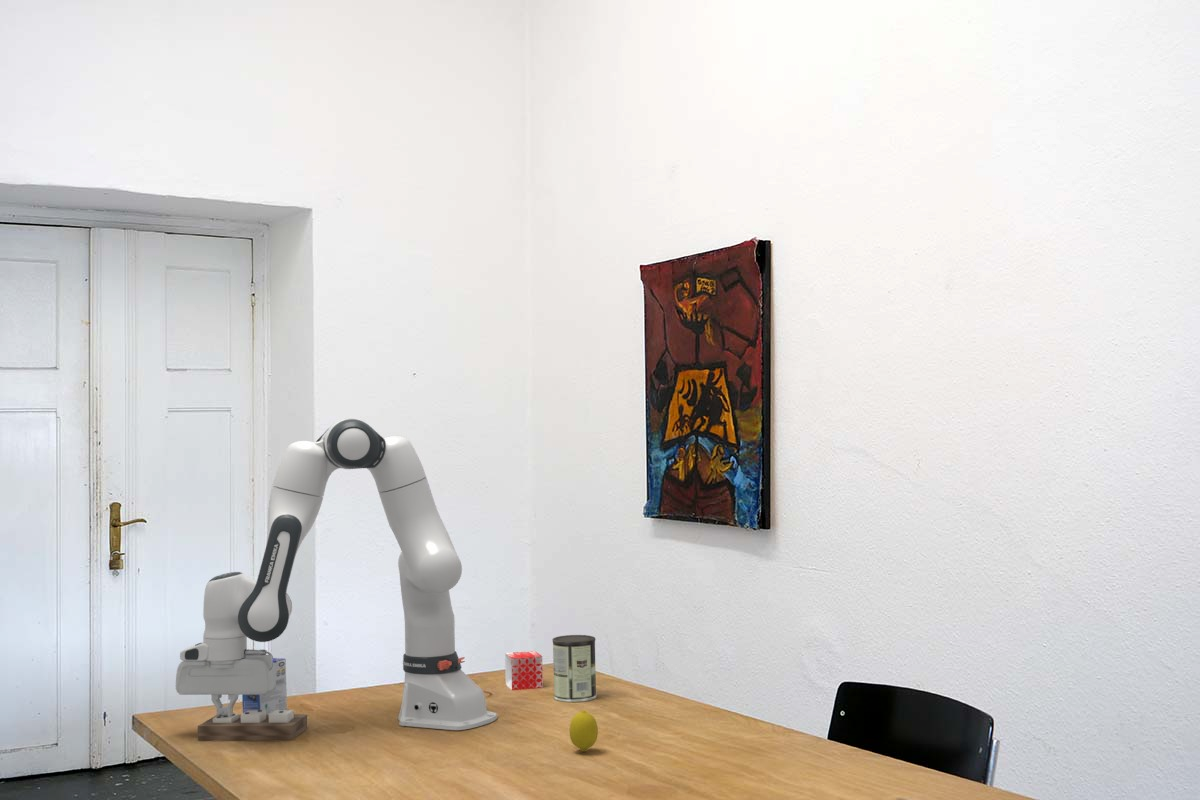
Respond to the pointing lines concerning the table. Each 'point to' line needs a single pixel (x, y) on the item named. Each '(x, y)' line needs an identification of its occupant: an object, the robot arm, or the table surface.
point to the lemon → (583, 730)
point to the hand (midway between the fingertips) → (224, 715)
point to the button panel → (252, 730)
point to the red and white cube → (524, 670)
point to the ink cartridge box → (275, 697)
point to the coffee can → (574, 668)
